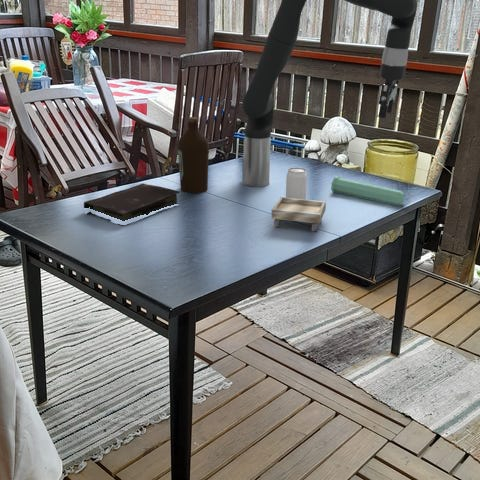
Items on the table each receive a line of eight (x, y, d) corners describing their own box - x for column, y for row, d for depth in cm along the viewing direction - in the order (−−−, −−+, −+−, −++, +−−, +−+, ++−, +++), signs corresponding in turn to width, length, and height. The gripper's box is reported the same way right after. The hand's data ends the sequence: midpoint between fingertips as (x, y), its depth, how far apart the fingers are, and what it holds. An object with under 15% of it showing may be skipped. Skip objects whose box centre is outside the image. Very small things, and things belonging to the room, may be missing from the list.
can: (306, 209, 189) (308, 172, 185) (285, 208, 189) (287, 172, 185) (304, 202, 195) (306, 167, 191) (284, 202, 195) (286, 166, 191)
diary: (83, 215, 183) (82, 200, 181) (142, 196, 202) (141, 181, 200) (125, 228, 173) (124, 212, 171) (183, 206, 191) (182, 191, 190)
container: (407, 187, 193) (338, 172, 206) (400, 197, 190) (330, 182, 203) (407, 201, 197) (339, 186, 210) (400, 211, 193) (331, 196, 206)
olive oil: (208, 184, 212) (208, 114, 202) (209, 194, 202) (209, 120, 193) (179, 185, 211) (177, 114, 202) (178, 194, 201) (176, 120, 192)
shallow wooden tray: (271, 227, 174) (271, 209, 171) (279, 214, 184) (280, 197, 182) (318, 233, 170) (320, 214, 168) (324, 219, 181) (325, 201, 179)
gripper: (387, 58, 190) (378, 109, 197) (376, 64, 178) (368, 117, 185) (410, 61, 187) (401, 112, 194) (401, 67, 176) (392, 121, 182)
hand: (385, 114), depth 190 cm, fingers open, 8 cm apart
